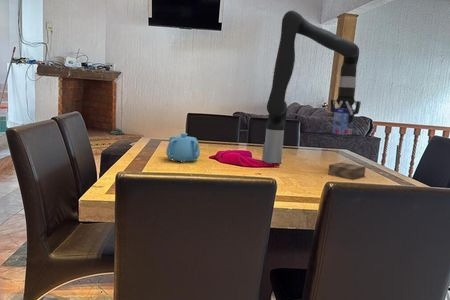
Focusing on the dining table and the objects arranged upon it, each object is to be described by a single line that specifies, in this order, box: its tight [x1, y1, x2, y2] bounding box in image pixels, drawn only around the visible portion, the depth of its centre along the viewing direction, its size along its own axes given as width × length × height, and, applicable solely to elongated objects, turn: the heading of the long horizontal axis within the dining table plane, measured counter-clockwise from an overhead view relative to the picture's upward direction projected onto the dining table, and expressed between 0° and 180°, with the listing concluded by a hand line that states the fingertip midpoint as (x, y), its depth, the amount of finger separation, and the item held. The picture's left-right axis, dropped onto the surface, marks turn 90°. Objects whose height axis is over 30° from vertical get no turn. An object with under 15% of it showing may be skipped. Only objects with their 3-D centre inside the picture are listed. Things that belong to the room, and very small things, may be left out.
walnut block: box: [328, 162, 366, 181], centre depth 179 cm, size 12×12×5 cm
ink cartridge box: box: [331, 104, 355, 136], centre depth 184 cm, size 10×6×14 cm, turn 131°
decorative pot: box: [165, 132, 201, 162], centre depth 190 cm, size 16×16×14 cm
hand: (343, 122), depth 184 cm, fingers closed on ink cartridge box, 6 cm apart
